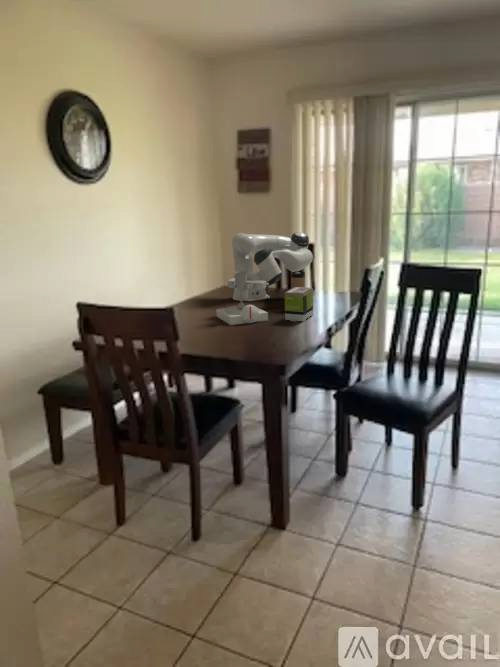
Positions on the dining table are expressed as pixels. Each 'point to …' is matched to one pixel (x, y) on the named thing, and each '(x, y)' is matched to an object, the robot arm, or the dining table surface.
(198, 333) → the dining table surface
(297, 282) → the travel mug
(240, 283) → the chalice
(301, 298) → the tea box
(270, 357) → the dining table surface
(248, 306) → the dial scale
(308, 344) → the dining table surface
